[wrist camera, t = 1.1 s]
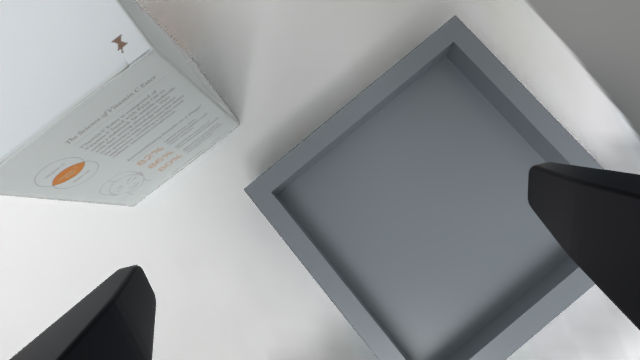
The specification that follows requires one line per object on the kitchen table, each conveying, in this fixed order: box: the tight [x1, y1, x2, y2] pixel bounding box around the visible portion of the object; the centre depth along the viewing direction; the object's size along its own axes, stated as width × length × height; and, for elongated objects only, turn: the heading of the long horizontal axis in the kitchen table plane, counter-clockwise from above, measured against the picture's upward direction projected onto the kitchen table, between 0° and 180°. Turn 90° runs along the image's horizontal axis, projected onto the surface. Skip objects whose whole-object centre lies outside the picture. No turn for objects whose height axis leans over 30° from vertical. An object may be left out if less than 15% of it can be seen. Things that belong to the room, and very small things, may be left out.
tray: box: [244, 15, 604, 360], centre depth 21 cm, size 14×14×2 cm
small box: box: [0, 0, 239, 206], centre depth 19 cm, size 8×6×10 cm
